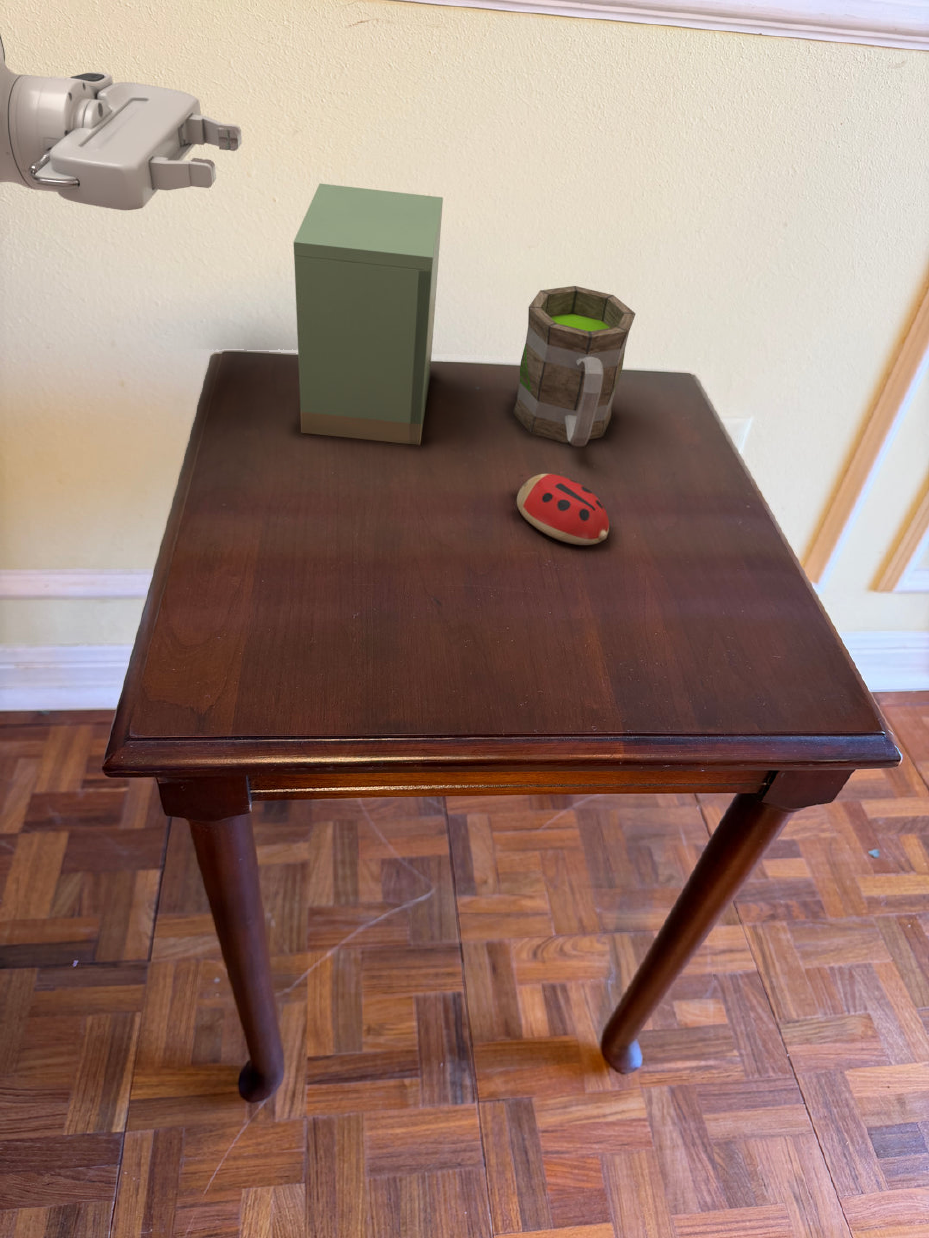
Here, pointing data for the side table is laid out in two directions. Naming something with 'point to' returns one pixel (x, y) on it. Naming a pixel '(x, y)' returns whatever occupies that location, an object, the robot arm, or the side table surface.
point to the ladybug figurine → (563, 509)
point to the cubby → (366, 311)
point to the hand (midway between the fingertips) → (227, 155)
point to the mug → (571, 363)
